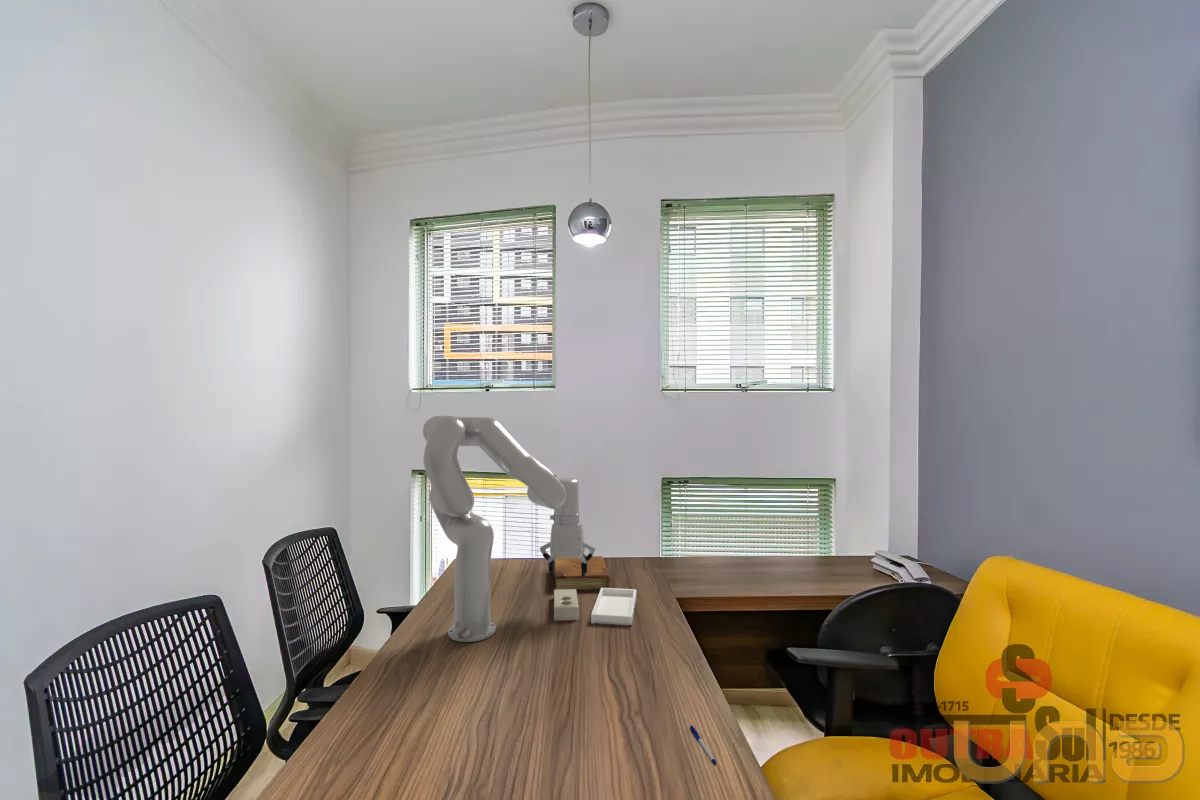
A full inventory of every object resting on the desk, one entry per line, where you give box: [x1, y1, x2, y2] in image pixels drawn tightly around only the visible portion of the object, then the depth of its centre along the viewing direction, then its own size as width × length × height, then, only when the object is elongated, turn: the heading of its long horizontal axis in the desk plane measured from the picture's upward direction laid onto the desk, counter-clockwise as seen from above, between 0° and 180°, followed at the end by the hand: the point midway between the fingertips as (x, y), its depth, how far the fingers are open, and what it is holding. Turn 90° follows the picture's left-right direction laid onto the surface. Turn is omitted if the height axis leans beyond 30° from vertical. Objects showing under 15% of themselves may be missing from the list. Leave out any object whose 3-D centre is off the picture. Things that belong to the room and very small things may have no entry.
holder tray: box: [590, 587, 637, 626], centre depth 156 cm, size 23×12×2 cm, turn 173°
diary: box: [554, 555, 611, 591], centre depth 184 cm, size 23×19×6 cm
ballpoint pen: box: [689, 724, 717, 765], centre depth 92 cm, size 10×1×1 cm, turn 14°
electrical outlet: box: [553, 589, 580, 622], centre depth 157 cm, size 7×4×18 cm
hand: (568, 574), depth 157 cm, fingers open, 9 cm apart
